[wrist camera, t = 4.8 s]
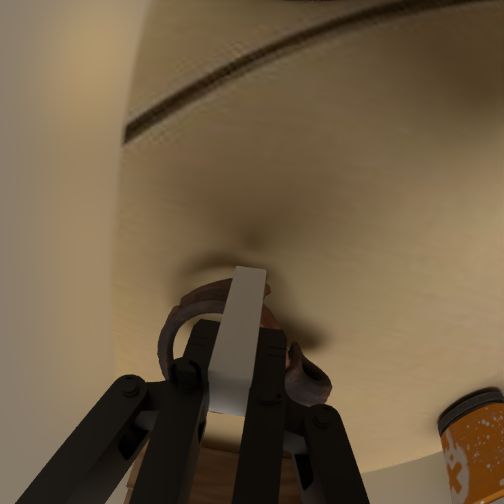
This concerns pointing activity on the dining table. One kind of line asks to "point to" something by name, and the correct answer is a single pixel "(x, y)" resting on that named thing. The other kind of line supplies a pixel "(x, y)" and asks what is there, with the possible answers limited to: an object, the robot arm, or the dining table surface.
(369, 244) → the dining table surface
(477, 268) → the dining table surface
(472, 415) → the canister
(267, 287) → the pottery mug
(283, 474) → the hutch
